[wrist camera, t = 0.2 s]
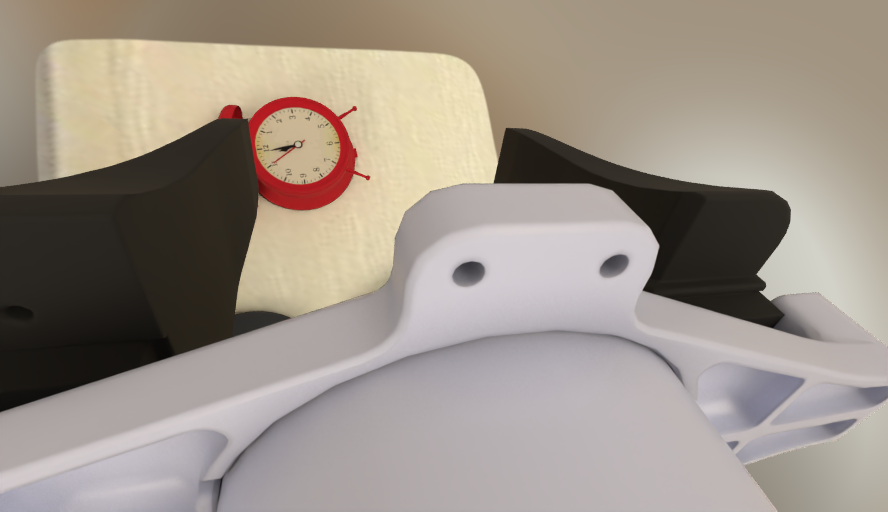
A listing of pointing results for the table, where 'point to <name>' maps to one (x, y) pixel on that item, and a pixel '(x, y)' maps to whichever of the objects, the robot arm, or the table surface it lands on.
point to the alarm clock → (299, 152)
